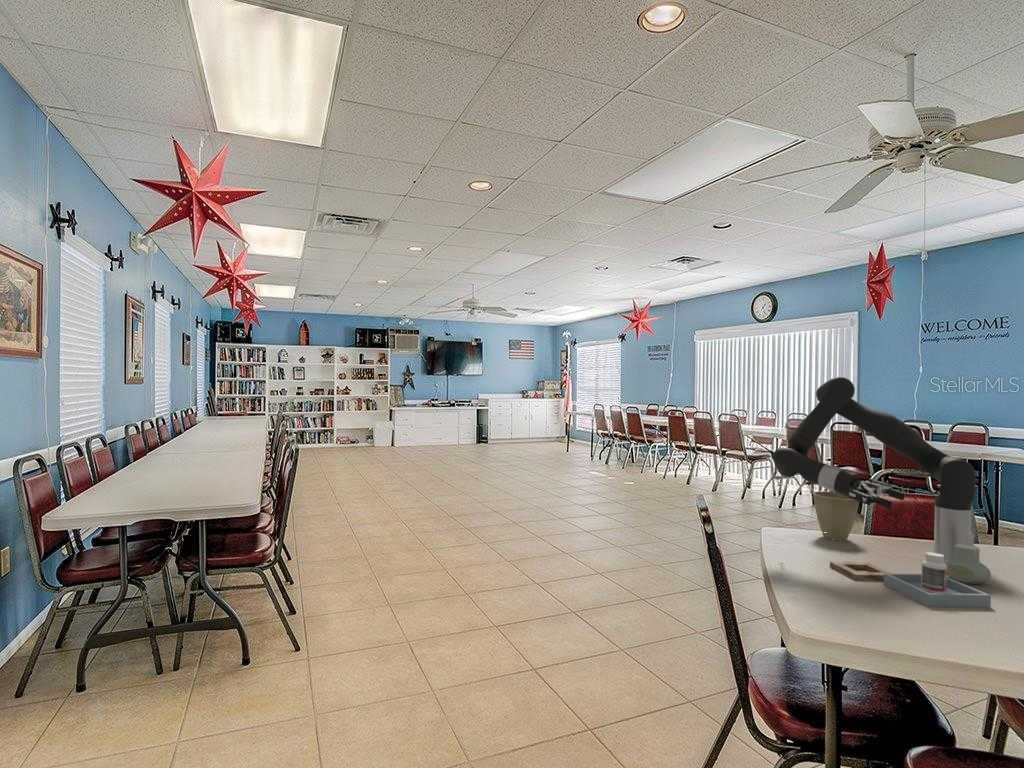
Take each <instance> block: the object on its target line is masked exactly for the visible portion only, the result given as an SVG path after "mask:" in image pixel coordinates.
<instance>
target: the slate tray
mask: <svg viewBox="0 0 1024 768" xmlns="http://www.w3.org/2000/svg"><path fill="white" fill-rule="evenodd" d="M884 584H885V585H884ZM883 585H884V586H887V587H888V588H890V589H892V590H894V589H895V591H896V590H897V592H898V591H899V593H900V592H901V593H900V594H902V593H903V595H904V594H905V596H906V595H907V597H908V596H909V598H911V599H913V600H914V601H917V602H918V603H921V604H922V605H925V606H927V607H930V608H931V607H935V608H936V607H937V608H938V607H940V608H941V607H942V608H944V607H945V608H946V607H948V608H949V607H950V608H992V604H991V603H992V595H991V594H988V593H986V592H984V591H981V590H979V589H976V588H974V587H972V586H969V585H967V584H966V583H961V582H958V581H956V580H954V579H952V578H950V577H949V576H947V592H946V593H930V592H927V591H924V590H923V589H922V588H921V573H892V572H890V573H884V581H883Z"/></svg>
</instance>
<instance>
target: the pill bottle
mask: <svg viewBox="0 0 1024 768" xmlns="http://www.w3.org/2000/svg"><path fill="white" fill-rule="evenodd" d="M924 558H925V560H922V562H921V569H920V570H921V573H920V574H921V588H922V589H923V590H924V591H927V592H930V593H946V592H947V577H948V576H947V566H946V565H945V564H944V563H943V562H944V555H942V554H938V553H934V552H931V551H930V552H928V551H927V552H925V555H924Z"/></svg>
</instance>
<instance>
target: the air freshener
mask: <svg viewBox="0 0 1024 768" xmlns="http://www.w3.org/2000/svg"><path fill="white" fill-rule="evenodd" d="M943 563H944V564H945V565H946V566H947V577H948V578H950V579H952V580H955V581H957V582H958V581H959V582H960V583H961V582H962V584H966V583H969V584H968V585H979V584H984V583H986V582H988V581H989V580H990V579H991V577H992V573H991V571H990V569H989V568H988V566H986V565H985V564H983V563H982V562H980V548H979V547H978V546H975V545H974V546H972V545H967V544H954V545H953V558H950V559H947V560H945V561H944V562H943Z"/></svg>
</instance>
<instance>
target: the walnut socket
mask: <svg viewBox="0 0 1024 768" xmlns="http://www.w3.org/2000/svg"><path fill="white" fill-rule="evenodd" d="M830 566H831V567H832V569H833V568H834V569H833V570H835V569H836V570H835V571H837V570H838V571H837V572H839V571H840V572H839V573H841V574H843V575H845V576H846V577H849V578H850V577H851V579H852V578H853V580H854V579H855V581H879V580H882V581H883V582H884V573H891V571H888V570H886V569H884V568H881V567H879V566H877V565H875V564H873V563H870V561H869V562H865V561H859V562H857V561H829V567H830ZM831 567H830V568H831ZM860 571H861V572H860ZM866 571H867V572H866ZM882 581H881V582H882Z"/></svg>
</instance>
